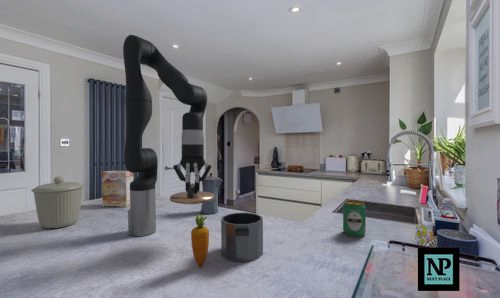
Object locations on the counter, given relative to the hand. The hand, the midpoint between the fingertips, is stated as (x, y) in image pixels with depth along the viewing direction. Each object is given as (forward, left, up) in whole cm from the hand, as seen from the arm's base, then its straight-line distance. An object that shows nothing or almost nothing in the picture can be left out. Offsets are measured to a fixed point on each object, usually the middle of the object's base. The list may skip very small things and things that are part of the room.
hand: (192, 192), depth 88 cm
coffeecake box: (-53, +57, -18) cm, 80 cm away
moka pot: (0, +40, -18) cm, 44 cm away
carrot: (+5, -17, -18) cm, 26 cm away
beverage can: (+60, +7, -18) cm, 63 cm away
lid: (0, 0, -3) cm, 3 cm away
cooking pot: (+17, -8, -18) cm, 26 cm away
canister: (-62, +23, -18) cm, 68 cm away
